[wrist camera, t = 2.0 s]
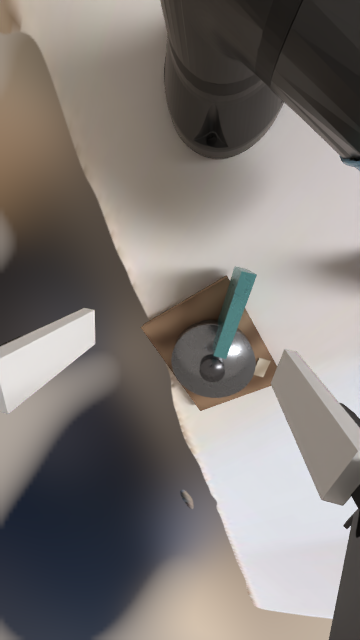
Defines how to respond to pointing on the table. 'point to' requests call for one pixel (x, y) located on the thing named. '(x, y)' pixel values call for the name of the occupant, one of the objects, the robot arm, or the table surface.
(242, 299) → the dial
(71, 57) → the table surface
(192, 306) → the stand
